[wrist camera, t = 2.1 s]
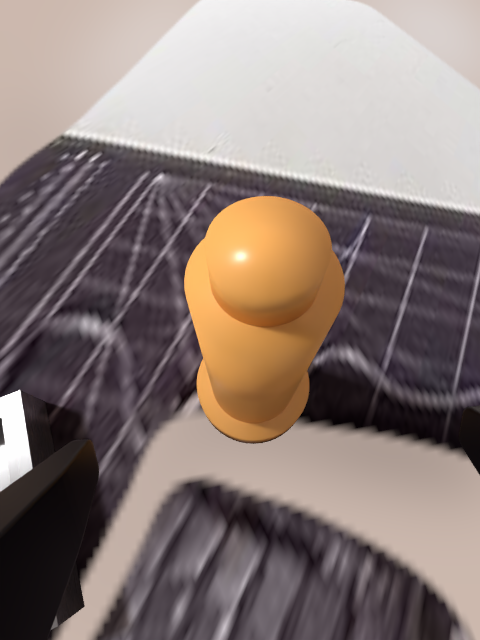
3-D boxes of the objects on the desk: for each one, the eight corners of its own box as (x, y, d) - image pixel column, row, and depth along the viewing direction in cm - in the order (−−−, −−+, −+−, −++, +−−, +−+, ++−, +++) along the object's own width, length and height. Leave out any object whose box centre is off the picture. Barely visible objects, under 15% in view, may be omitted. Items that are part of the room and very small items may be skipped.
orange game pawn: (324, 415, 19) (452, 299, 8) (223, 462, 18) (192, 412, 6) (276, 325, 22) (316, 132, 10) (185, 362, 21) (112, 195, 9)
